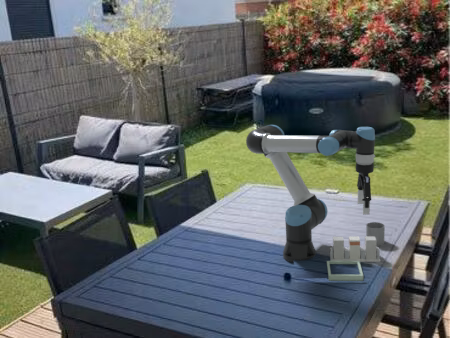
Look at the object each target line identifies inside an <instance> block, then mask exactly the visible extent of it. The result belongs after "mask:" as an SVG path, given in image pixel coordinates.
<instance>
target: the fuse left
mask: <svg viewBox="0 0 450 338" xmlns="http://www.w3.org/2000/svg"><path fill="white" fill-rule="evenodd" d="M332 246H333V247H332V249H333V257H334V259H344V247H345V241H344V236H333V237H332Z"/></svg>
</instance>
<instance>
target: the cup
mask: <svg viewBox="0 0 450 338" xmlns="http://www.w3.org/2000/svg"><path fill="white" fill-rule="evenodd" d="M365 225H366V228H365V230H366V231H365V232H366V233H365V236H375V238H376V246H382V245H384V244H385V227H386V226H385V224H384V223H382V222H376V221H375V222H374V221H373V222H368V223H366V224H365Z"/></svg>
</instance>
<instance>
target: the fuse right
mask: <svg viewBox="0 0 450 338" xmlns="http://www.w3.org/2000/svg"><path fill="white" fill-rule="evenodd" d="M376 247H377V245H376V238H375V236H366V235H365V236H364V249H365V257H366V259H376Z"/></svg>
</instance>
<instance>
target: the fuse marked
mask: <svg viewBox="0 0 450 338" xmlns="http://www.w3.org/2000/svg"><path fill="white" fill-rule="evenodd" d="M360 247H361V239H360V236H348V249H349V258H350V259H360Z"/></svg>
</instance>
